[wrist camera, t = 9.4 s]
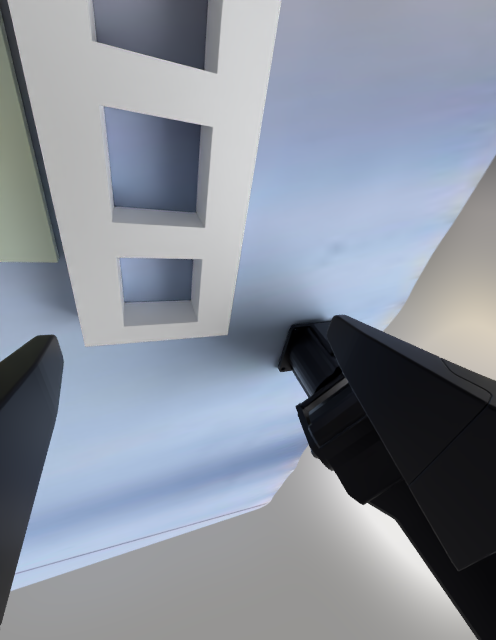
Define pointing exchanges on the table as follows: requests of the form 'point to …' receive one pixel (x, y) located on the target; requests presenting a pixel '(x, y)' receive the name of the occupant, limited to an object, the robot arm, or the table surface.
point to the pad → (20, 177)
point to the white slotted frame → (94, 167)
